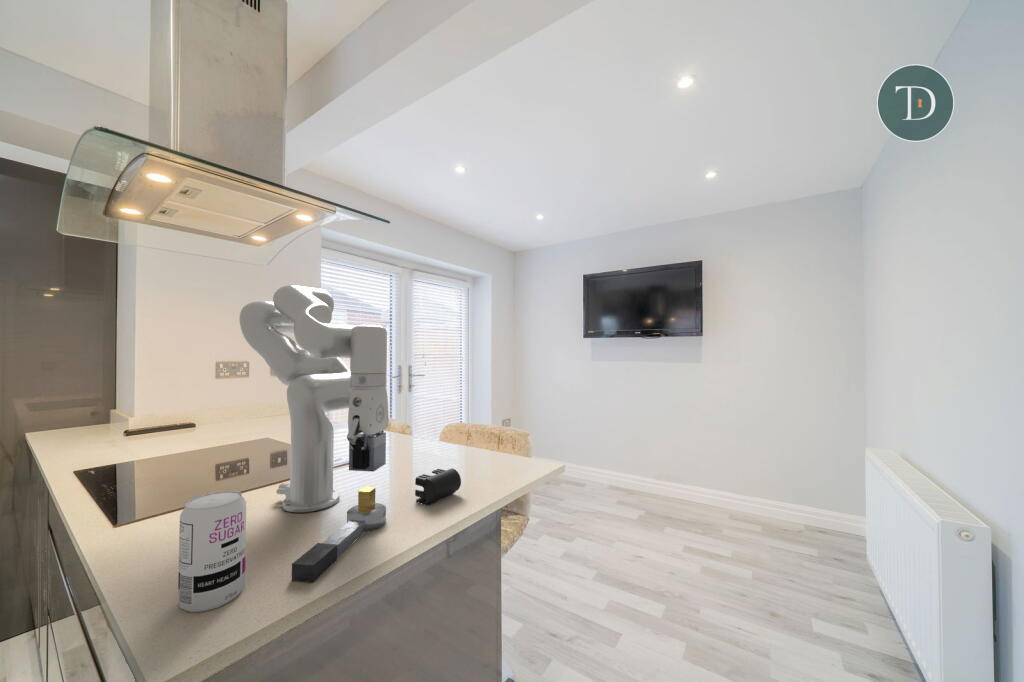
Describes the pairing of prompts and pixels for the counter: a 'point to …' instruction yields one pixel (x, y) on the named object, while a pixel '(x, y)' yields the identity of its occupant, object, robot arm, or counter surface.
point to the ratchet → (341, 537)
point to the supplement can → (211, 550)
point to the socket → (372, 452)
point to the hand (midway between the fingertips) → (367, 463)
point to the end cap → (437, 485)
